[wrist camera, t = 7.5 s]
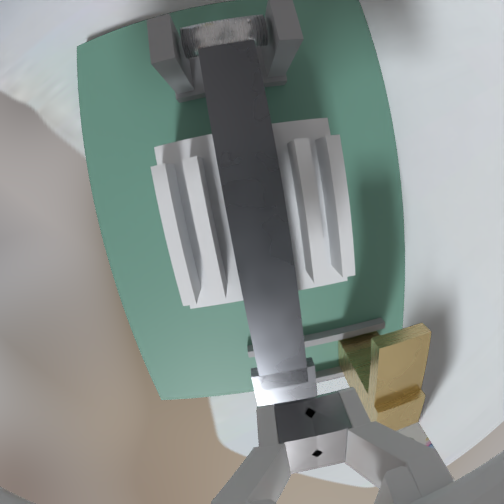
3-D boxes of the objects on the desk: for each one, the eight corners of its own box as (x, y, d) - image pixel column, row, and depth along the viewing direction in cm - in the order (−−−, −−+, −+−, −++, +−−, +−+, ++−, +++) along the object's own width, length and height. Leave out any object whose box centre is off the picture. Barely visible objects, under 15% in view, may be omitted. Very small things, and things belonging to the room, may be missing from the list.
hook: (375, 280, 19) (437, 337, 12) (374, 354, 21) (417, 422, 13) (335, 289, 19) (384, 355, 12) (338, 363, 21) (373, 438, 13)
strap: (260, 24, 11) (262, 8, 9) (316, 385, 16) (322, 402, 14) (184, 37, 11) (178, 22, 9) (254, 396, 16) (255, 415, 14)
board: (352, 5, 15) (394, -46, 8) (393, 349, 23) (435, 404, 15) (84, 51, 15) (27, 15, 8) (164, 390, 23) (145, 458, 15)
